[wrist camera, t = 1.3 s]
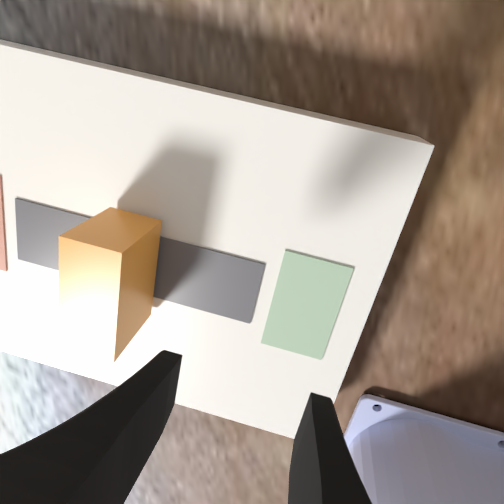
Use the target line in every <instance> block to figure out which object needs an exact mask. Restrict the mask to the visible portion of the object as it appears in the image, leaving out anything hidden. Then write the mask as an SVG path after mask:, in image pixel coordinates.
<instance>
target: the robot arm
mask: <svg viewBox="0 0 504 504" xmlns="http://www.w3.org/2000/svg"><path fill="white" fill-rule="evenodd" d="M181 361H182V355H181V354H177V353H174V352H170V351H167V350H163V351H161V352H159V353H158V354H157V355H156V356H155V357H154V358H153V359H152V360H150V361H149V362H148V363H147V364H146V365H145V366H143V367H142V368H141V369H140V370H138V371H137V372H136V373H135V374H134V375H132V376H131V377H130V378H128V379H127V380H126V381H124V382H123V383H122V384H121V385H119V386H118V387H117V388H115V389H114V390H113V391H111V392H110V393H108V394H107V395H105V396H104V397H103V398H101V399H100V400H98V401H97V402H95V403H94V404H92V405H91V406H89V407H88V408H86V409H85V410H83V411H82V412H80V413H79V414H77V415H75V416H74V417H72V418H70V419H69V420H67V421H65V422H63V423H62V424H60V425H58V426H57V427H55V428H53V429H51V430H49V431H47V432H45V433H43V434H42V435H40V436H38V437H36V438H34V439H32V440H30V441H28V442H26V443H24V444H22V445H20V446H18V447H16V448H14V449H11V450H9V451H7V452H4V453H2V454H0V504H124V502H125V500H126V498H127V496H128V495H129V493H130V491H131V489H132V487H133V486H134V484H135V482H136V480H137V478H138V476H139V475H140V473H141V471H142V469H143V467H144V466H145V464H146V462H147V460H148V458H149V456H150V455H151V453H152V451H153V449H154V447H155V445H156V444H157V442H158V440H159V438H160V436H161V434H162V432H163V430H164V428H165V425H166V423H167V420H168V418H169V416H170V413H171V411H172V408H173V406H174V403H175V398H176V392H177V386H178V380H179V373H180V367H181ZM376 404H378V405H380V406H374V405H376ZM499 441H502V442H499ZM288 504H504V433H503V432H500V431H496V430H493V429H489V428H486V427H482V426H479V425H475V424H472V423H468V422H465V421H461V420H458V419H454V418H451V417H447V416H444V415H440V414H437V413H433V412H430V411H426V410H423V409H419V408H416V407H412V406H409V405H405V404H402V403H398V402H395V401H391V400H388V399H384V398H381V397H377V396H374V395H370V394H365V395H363V396H361V397H360V398H359V401H358V403H357V405H356V408H355V410H354V412H353V415H352V417H351V419H350V422H349V424H348V426H347V429H346V431H345V434H344V436H343V433H342V430H341V427H340V424H339V421H338V418H337V415H336V411H335V408H334V404H333V401H332V400H331V398H330V397H326V396H323V395H319V394H316V393H312V392H311V393H310V396H309V399H308V401H307V404H306V407H305V410H304V413H303V416H302V418H301V421H300V424H299V427H298V430H297V433H296V435H295V438H294V444H293V451H292V458H291V465H290V472H289V494H288Z"/></svg>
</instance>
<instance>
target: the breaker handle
mask: <svg viewBox="0 0 504 504" xmlns="http://www.w3.org/2000/svg"><path fill="white" fill-rule="evenodd" d="M161 225H162V220H159V219H155V218H151V217H147V216H143V215H140V214H136V213H132V212H128V211H124V210H121V209H117V208H113V207H109V208H108V209H106V210H104V211H102V212H100V213H99V214H97V215H95V216H93V217H92V218H90V219H88V220H86V221H84V222H83V223H81V224H79V225H77V226H76V227H74V228H72V229H70V230H68V231H67V232H65V233H63V234H61V235H60V236H59V347H61V348H64V349H68V350H71V351H75V352H78V353H81V354H85V355H88V356H92V357H95V358H98V359H102V360H105V361H108V362H112V363H114V362H115V361H116V360H117V358H118V357H119V356H120V355H121V353H122V352H123V351H124V349H125V348H126V347H127V345H128V344H129V343H130V342H131V340H132V339H133V338H134V336H135V335H136V334H137V332H138V331H139V330H140V329H141V327H142V326H143V325H144V323H145V322H146V321H147V319H148V318H149V317H150V316H151V311H152V303H153V294H154V286H155V277H156V268H157V260H158V251H159V242H160V234H161Z"/></svg>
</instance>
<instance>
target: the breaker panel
mask: <svg viewBox="0 0 504 504" xmlns="http://www.w3.org/2000/svg"><path fill="white" fill-rule="evenodd" d="M433 149H434V145H433V144H431V143H429V142H427V141H426V140H424V139H422V138H420V137H419V136H415V135H411V134H407V133H403V132H398V131H394V130H390V129H385V128H381V127H377V126H372V125H368V124H364V123H359V122H355V121H351V120H347V119H342V118H338V117H334V116H329V115H325V114H321V113H316V112H312V111H308V110H303V109H299V108H295V107H290V106H286V105H282V104H278V103H273V102H269V101H265V100H260V99H256V98H252V97H247V96H243V95H239V94H234V93H230V92H226V91H222V90H217V89H213V88H209V87H204V86H200V85H196V84H191V83H187V82H183V81H178V80H174V79H170V78H165V77H161V76H157V75H153V74H148V73H144V72H140V71H135V70H131V69H127V68H122V67H118V66H114V65H109V64H105V63H101V62H97V61H92V60H88V59H84V58H79V57H75V56H71V55H66V54H62V53H58V52H53V51H49V50H45V49H40V48H36V47H32V46H28V45H23V44H19V43H15V42H10V41H6V40H2V39H0V351H3V352H6V353H9V354H13V355H16V356H19V357H23V358H26V359H29V360H33V361H36V362H39V363H43V364H46V365H49V366H53V367H56V368H59V369H63V370H66V371H69V372H73V373H76V374H79V375H83V376H86V377H89V378H93V379H96V380H99V381H103V382H106V383H109V384H113V385H116V386H119V385H121V384H122V383H123V382H124V381H126V380H127V379H128V378H130V377H131V376H132V375H134V374H135V373H136V372H137V371H138V370H140V369H141V368H142V367H143V366H145V365H146V364H147V363H148V362H149V361H150V360H152V359H153V358H154V357H155V356H156V355H157V354H158V353H159V352H161V351H163V350H167V351H170V352H174V353H177V354H181V355H182V361H181V367H180V373H179V380H178V386H177V392H176V398H175V403H176V404H180V405H183V406H186V407H190V408H193V409H196V410H200V411H203V412H206V413H210V414H213V415H216V416H220V417H223V418H226V419H230V420H233V421H236V422H240V423H243V424H246V425H250V426H253V427H256V428H260V429H263V430H266V431H270V432H273V433H276V434H280V435H283V436H286V437H290V438H293V439H294V438H295V435H296V433H297V430H298V427H299V424H300V421H301V418H302V416H303V413H304V410H305V407H306V404H307V401H308V399H309V396H310V393H311V392H312V393H316V394H319V395H323V396H326V397H330V398H331V400H332V401H333V404H334V402H335V399H336V397H337V394H338V391H339V389H340V386H341V384H342V381H343V379H344V376H345V374H346V371H347V368H348V366H349V363H350V361H351V358H352V356H353V353H354V351H355V348H356V345H357V343H358V340H359V338H360V335H361V333H362V330H363V328H364V325H365V322H366V320H367V317H368V315H369V312H370V310H371V307H372V305H373V302H374V299H375V297H376V294H377V292H378V289H379V287H380V284H381V282H382V279H383V277H384V274H385V271H386V269H387V266H388V264H389V261H390V259H391V256H392V254H393V251H394V248H395V246H396V243H397V241H398V238H399V236H400V233H401V231H402V228H403V225H404V223H405V220H406V218H407V215H408V213H409V210H410V208H411V205H412V202H413V200H414V197H415V195H416V192H417V190H418V187H419V185H420V182H421V179H422V177H423V174H424V172H425V169H426V167H427V164H428V162H429V159H430V157H431V154H432V151H433ZM109 207H113V208H117V209H121V210H124V211H128V212H132V213H136V214H140V215H143V216H147V217H151V218H155V219H159V220H162V225H161V234H160V242H159V251H158V260H157V268H156V277H155V286H154V294H153V303H152V311H151V316H150V317H149V318H148V319H147V321H146V322H145V323H144V325H143V326H142V327H141V329H140V330H139V331H138V332H137V334H136V335H135V336H134V338H133V339H132V340H131V342H130V343H129V344H128V345H127V347H126V348H125V349H124V351H123V352H122V353H121V355H120V356H119V357H118V358H117V360H116V361H115V362H114V363H112V362H108V361H105V360H102V359H98V358H95V357H92V356H88V355H85V354H81V353H78V352H75V351H71V350H68V349H64V348H61V347H59V236H60V235H61V234H63V233H65V232H67V231H68V230H70V229H72V228H74V227H76V226H77V225H79V224H81V223H83V222H84V221H86V220H88V219H90V218H92V217H93V216H95V215H97V214H99V213H100V212H102V211H104V210H106V209H108V208H109Z"/></svg>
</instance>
